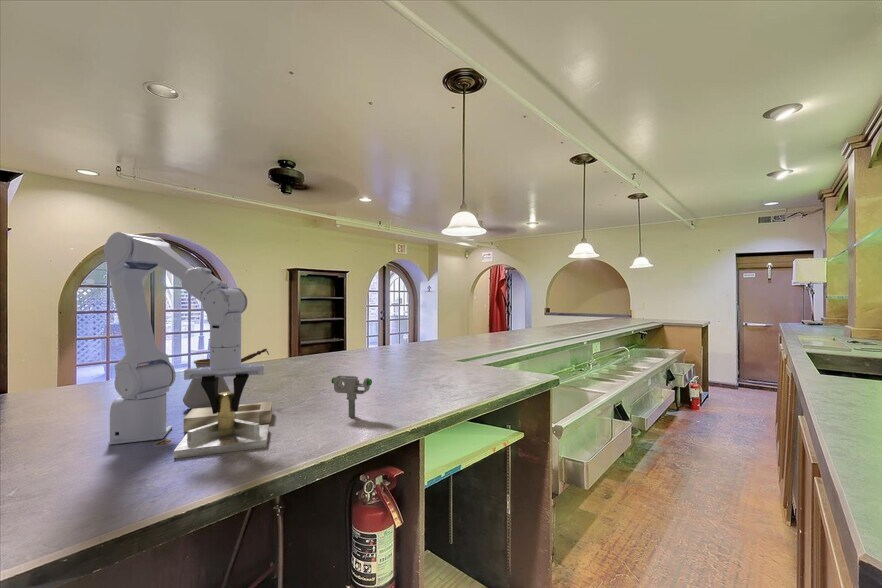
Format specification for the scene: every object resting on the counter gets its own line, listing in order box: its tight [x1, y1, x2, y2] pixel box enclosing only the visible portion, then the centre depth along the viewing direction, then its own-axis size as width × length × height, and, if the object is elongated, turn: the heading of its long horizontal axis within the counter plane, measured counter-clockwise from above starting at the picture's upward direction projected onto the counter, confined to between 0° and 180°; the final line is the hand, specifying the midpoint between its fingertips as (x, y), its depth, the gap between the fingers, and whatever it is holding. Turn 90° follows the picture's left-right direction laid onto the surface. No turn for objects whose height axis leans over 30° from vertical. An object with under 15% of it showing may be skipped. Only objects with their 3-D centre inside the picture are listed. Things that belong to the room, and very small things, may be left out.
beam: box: [183, 401, 273, 433], centre depth 96 cm, size 18×8×3 cm, turn 111°
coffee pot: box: [182, 348, 270, 411], centre depth 111 cm, size 21×12×15 cm, turn 123°
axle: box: [217, 391, 235, 435], centre depth 82 cm, size 3×3×8 cm
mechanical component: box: [331, 375, 373, 418], centre depth 100 cm, size 3×10×10 cm, turn 79°
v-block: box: [173, 419, 270, 459], centre depth 82 cm, size 16×10×4 cm, turn 110°
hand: (225, 411), depth 82 cm, fingers closed on axle, 3 cm apart
